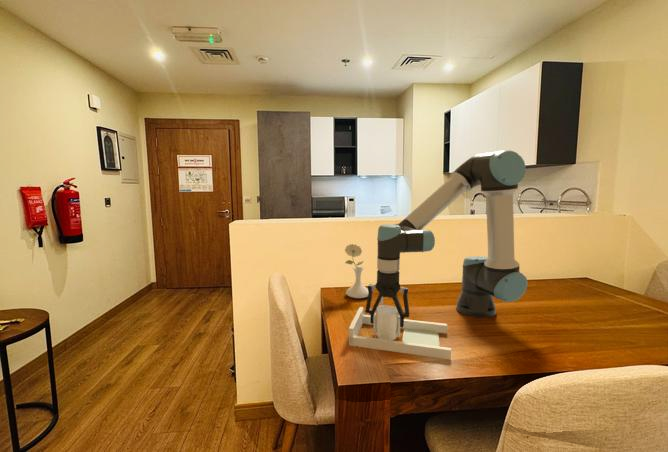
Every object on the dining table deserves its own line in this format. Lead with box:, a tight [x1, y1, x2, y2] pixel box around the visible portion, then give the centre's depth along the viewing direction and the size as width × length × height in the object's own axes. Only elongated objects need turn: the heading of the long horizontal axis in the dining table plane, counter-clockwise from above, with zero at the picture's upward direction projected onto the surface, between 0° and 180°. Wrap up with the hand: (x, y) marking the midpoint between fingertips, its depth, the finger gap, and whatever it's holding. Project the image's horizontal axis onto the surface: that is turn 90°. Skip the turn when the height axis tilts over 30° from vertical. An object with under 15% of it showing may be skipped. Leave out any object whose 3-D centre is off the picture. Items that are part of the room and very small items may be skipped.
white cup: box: [376, 304, 399, 341], centre depth 111 cm, size 8×8×10 cm
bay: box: [348, 306, 452, 361], centre depth 110 cm, size 32×19×6 cm, turn 74°
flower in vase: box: [344, 243, 369, 299], centre depth 151 cm, size 13×11×25 cm
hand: (386, 333), depth 112 cm, fingers closed on white cup, 8 cm apart
